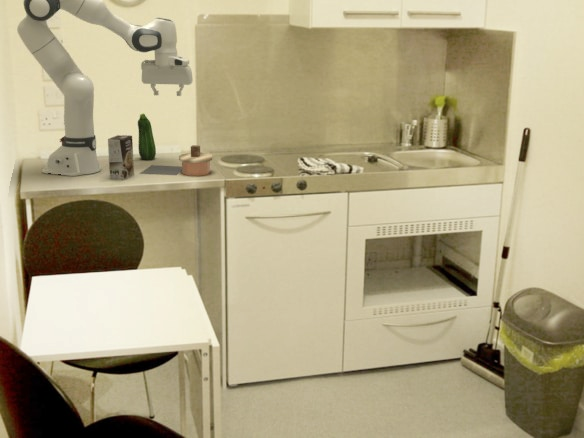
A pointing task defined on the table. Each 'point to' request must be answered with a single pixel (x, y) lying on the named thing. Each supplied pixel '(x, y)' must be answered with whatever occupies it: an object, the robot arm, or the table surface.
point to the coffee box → (121, 157)
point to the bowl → (196, 168)
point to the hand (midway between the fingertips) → (167, 95)
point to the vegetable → (146, 139)
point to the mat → (162, 170)
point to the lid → (195, 156)
